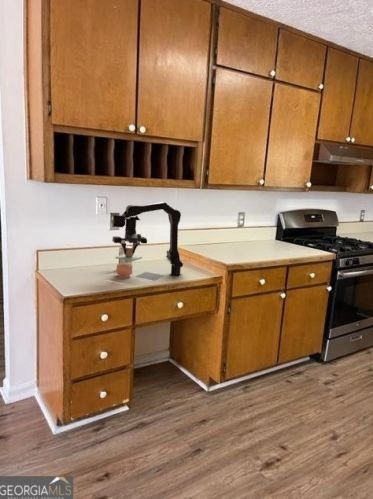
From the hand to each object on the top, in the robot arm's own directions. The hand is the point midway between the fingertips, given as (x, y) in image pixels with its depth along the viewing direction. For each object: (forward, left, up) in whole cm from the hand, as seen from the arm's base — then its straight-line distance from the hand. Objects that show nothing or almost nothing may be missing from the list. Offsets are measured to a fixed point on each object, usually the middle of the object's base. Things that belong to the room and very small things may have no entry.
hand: (128, 254), depth 213 cm
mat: (-8, +10, -13) cm, 18 cm away
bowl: (+1, -2, -13) cm, 13 cm away
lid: (0, 0, -2) cm, 2 cm away
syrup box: (-13, -10, -13) cm, 21 cm away
